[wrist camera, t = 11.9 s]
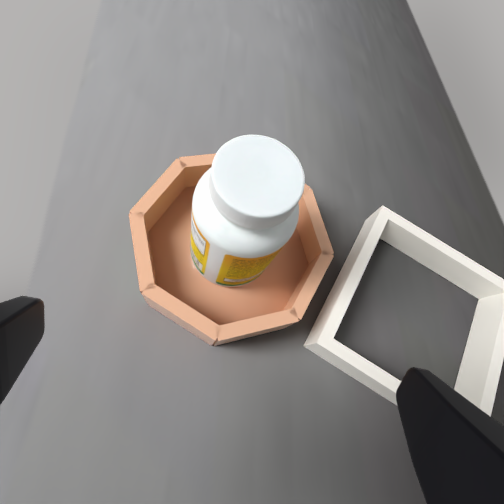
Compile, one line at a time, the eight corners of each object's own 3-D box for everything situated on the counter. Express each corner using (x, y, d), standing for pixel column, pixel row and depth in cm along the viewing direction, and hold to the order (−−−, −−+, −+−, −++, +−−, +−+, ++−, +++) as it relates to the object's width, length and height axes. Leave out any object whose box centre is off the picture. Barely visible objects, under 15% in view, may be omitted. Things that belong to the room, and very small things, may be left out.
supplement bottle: (174, 260, 21) (164, 181, 12) (218, 202, 23) (238, 99, 14) (242, 305, 21) (282, 258, 12) (281, 242, 23) (340, 164, 14)
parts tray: (452, 440, 21) (483, 448, 19) (303, 346, 22) (316, 343, 20) (489, 296, 26) (518, 288, 24) (365, 220, 26) (382, 205, 24)
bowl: (258, 376, 21) (271, 376, 17) (103, 276, 21) (87, 258, 18) (334, 234, 25) (355, 214, 22) (205, 155, 26) (207, 124, 23)
